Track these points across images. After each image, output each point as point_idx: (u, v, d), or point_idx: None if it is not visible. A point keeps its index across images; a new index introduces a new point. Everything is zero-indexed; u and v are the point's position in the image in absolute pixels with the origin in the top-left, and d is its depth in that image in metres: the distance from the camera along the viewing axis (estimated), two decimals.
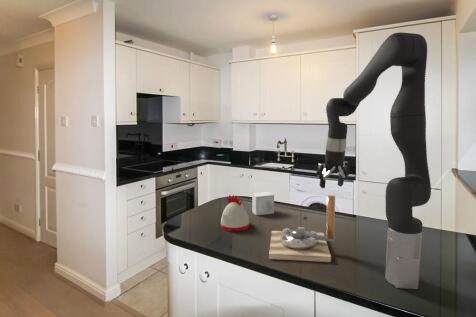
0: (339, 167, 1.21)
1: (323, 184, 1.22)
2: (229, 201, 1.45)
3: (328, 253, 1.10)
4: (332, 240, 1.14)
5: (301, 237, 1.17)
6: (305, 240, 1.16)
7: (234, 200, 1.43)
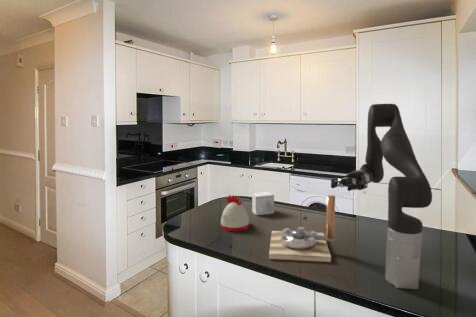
0: (353, 178, 1.23)
1: (333, 182, 1.21)
2: (229, 201, 1.45)
3: (328, 253, 1.10)
4: (332, 240, 1.14)
5: (301, 237, 1.17)
6: (305, 240, 1.16)
7: (234, 200, 1.43)
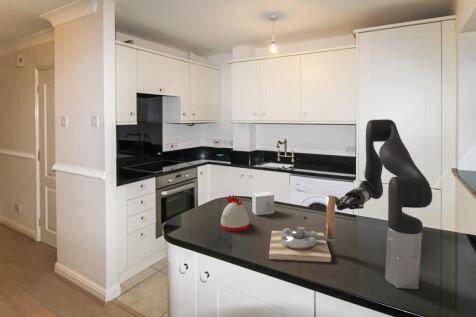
0: (352, 197, 1.24)
1: (339, 204, 1.20)
2: (229, 201, 1.45)
3: (328, 253, 1.10)
4: (332, 240, 1.14)
5: (301, 237, 1.17)
6: (305, 240, 1.16)
7: (234, 200, 1.43)
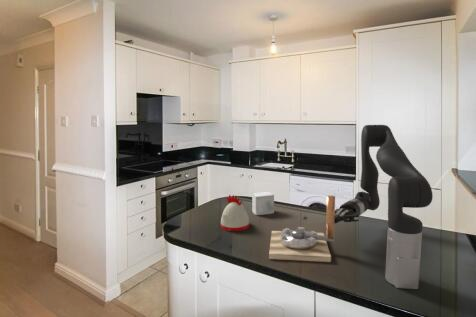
0: (347, 210, 1.21)
1: None
2: (229, 201, 1.45)
3: (328, 253, 1.10)
4: (332, 240, 1.14)
5: (301, 237, 1.17)
6: (305, 240, 1.16)
7: (234, 200, 1.43)
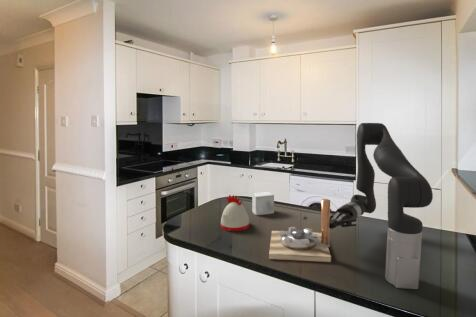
0: (344, 214, 1.16)
1: None
2: (229, 201, 1.45)
3: (328, 253, 1.10)
4: (325, 246, 1.09)
5: (298, 238, 1.17)
6: (300, 241, 1.15)
7: (234, 200, 1.43)
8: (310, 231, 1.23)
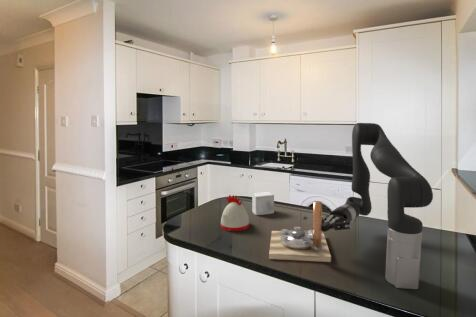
0: (338, 216, 1.14)
1: (323, 224, 1.09)
2: (229, 201, 1.45)
3: (328, 253, 1.10)
4: (316, 248, 1.07)
5: (296, 237, 1.18)
6: (296, 240, 1.16)
7: (234, 200, 1.43)
8: None
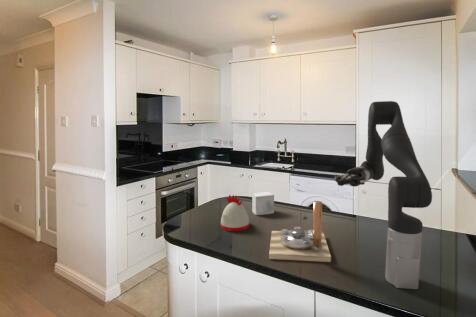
0: (353, 174, 1.23)
1: (340, 179, 1.18)
2: (229, 201, 1.45)
3: (328, 253, 1.10)
4: (316, 248, 1.07)
5: (296, 237, 1.18)
6: (296, 240, 1.16)
7: (234, 200, 1.43)
8: None
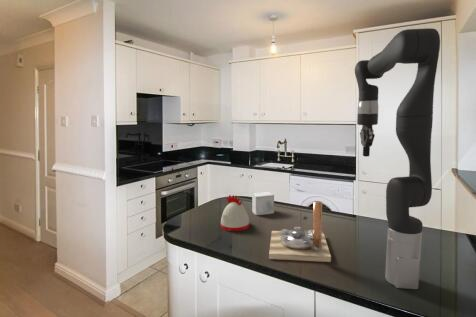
0: (362, 131, 1.19)
1: None
2: (229, 201, 1.45)
3: (328, 253, 1.10)
4: (316, 248, 1.07)
5: (296, 237, 1.18)
6: (296, 240, 1.16)
7: (234, 200, 1.43)
8: None
